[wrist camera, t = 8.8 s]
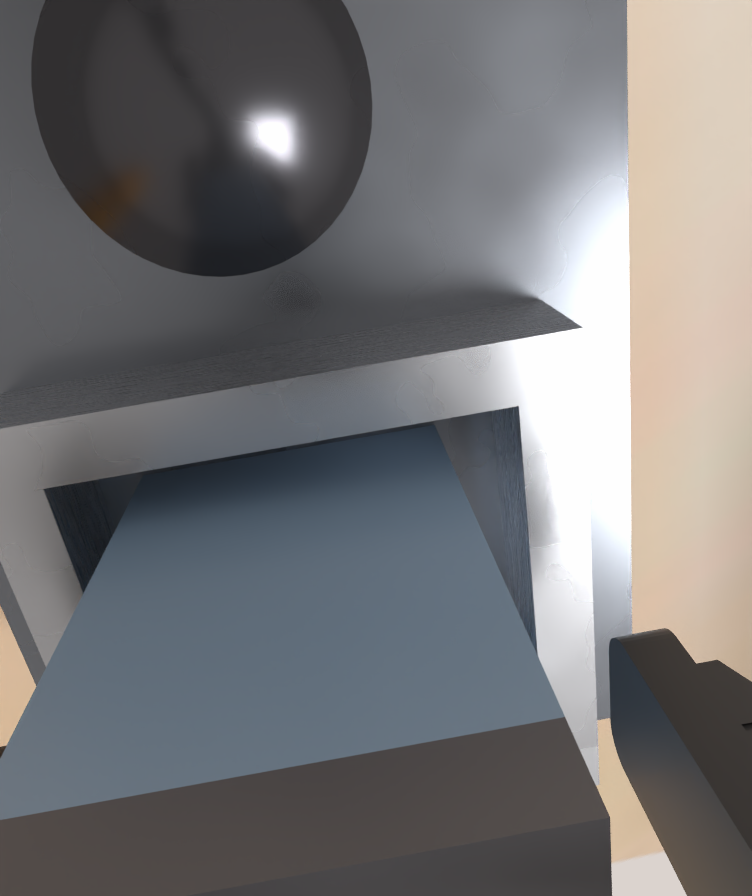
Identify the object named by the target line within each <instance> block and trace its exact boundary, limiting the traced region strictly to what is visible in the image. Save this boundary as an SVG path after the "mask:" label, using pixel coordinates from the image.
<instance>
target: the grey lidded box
mask: <svg viewBox="0 0 752 896" xmlns="http://www.w3.org/2000/svg"><path fill="white" fill-rule="evenodd" d="M0 896H612V880H611V840H610V816H609V814H608V812H607V810H606V807H605V805H604V803H603V801H602V798H601V796H600V794H599V792H598V789H597V787H596V785H595V783H594V781H593V778H592V776H591V774H590V772H589V769H588V767H587V765H586V763H585V760H584V758H583V756H582V754H581V751H580V749H579V747H578V745H577V743H576V740H575V738H574V736H573V734H572V731H571V729H570V727H569V725H568V722H567V720H566V718H565V716H564V713H563V711H562V709H561V707H560V705H559V702H558V700H557V698H556V696H555V693H554V691H553V689H552V687H551V684H550V682H549V680H548V678H547V675H546V673H545V671H544V669H543V666H542V664H541V662H540V660H539V658H538V655H537V653H536V651H535V649H534V646H533V644H532V642H531V640H530V637H529V635H528V633H527V631H526V628H525V626H524V624H523V622H522V620H521V617H520V615H519V613H518V611H517V608H516V606H515V604H514V602H513V599H512V597H511V595H510V593H509V590H508V588H507V586H506V584H505V582H504V579H503V577H502V575H501V573H500V570H499V568H498V566H497V564H496V561H495V559H494V557H493V555H492V552H491V550H490V548H489V546H488V543H487V541H486V539H485V537H484V535H483V532H482V530H481V528H480V526H479V523H478V521H477V519H476V517H475V514H474V512H473V510H472V508H471V505H470V503H469V501H468V499H467V497H466V494H465V492H464V490H463V488H462V485H461V483H460V481H459V479H458V476H457V474H456V472H455V470H454V467H453V465H452V463H451V461H450V459H449V456H448V454H447V452H446V450H445V447H444V445H443V443H442V441H441V438H440V436H439V434H438V432H437V429H436V427H435V425H431V426H425V427H419V428H413V429H408V430H402V431H396V432H390V433H385V434H379V435H373V436H367V437H362V438H356V439H350V440H344V441H339V442H333V443H327V444H321V445H316V446H310V447H304V448H298V449H293V450H287V451H281V452H275V453H270V454H264V455H258V456H252V457H247V458H241V459H235V460H229V461H224V462H218V463H212V464H206V465H201V466H195V467H189V468H183V469H178V470H172V471H166V472H160V473H154V474H149V475H143V476H142V478H141V480H140V482H139V484H138V486H137V488H136V490H135V492H134V494H133V496H132V498H131V500H130V502H129V504H128V506H127V508H126V510H125V512H124V514H123V516H122V518H121V520H120V522H119V524H118V526H117V528H116V530H115V532H114V534H113V536H112V538H111V540H110V542H109V544H108V546H107V548H106V550H105V552H104V554H103V556H102V558H101V560H100V562H99V564H98V566H97V568H96V570H95V572H94V574H93V576H92V577H91V579H90V581H89V583H88V585H87V587H86V589H85V591H84V593H83V595H82V597H81V599H80V601H79V603H78V605H77V607H76V609H75V611H74V613H73V615H72V617H71V619H70V621H69V623H68V625H67V627H66V629H65V631H64V633H63V635H62V637H61V639H60V641H59V643H58V645H57V647H56V649H55V651H54V653H53V655H52V657H51V659H50V661H49V663H48V665H47V667H46V669H45V671H44V673H43V675H42V677H41V679H40V681H39V683H38V685H37V687H36V689H35V691H34V693H33V695H32V697H31V699H30V701H29V703H28V705H27V706H26V708H25V710H24V712H23V714H22V716H21V718H20V720H19V722H18V724H17V726H16V728H15V730H14V732H13V734H12V736H11V738H10V740H9V742H8V744H7V746H6V748H5V750H4V752H3V754H2V756H1V758H0Z"/></svg>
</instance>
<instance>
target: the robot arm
mask: <svg viewBox="0 0 752 896" xmlns="http://www.w3.org/2000/svg"><path fill="white" fill-rule="evenodd" d="M609 681H610V719H611V729H612V735H613V739H614V743H615V747H616V750H617V753H618V756H619V759H620V762H621V764H622V767H623V769H624V771H625V773H626V775H627V777H628V779H629V781H630V783H631V785H632V787H633V789H634V791H635V793H636V795H637V797H638V799H639V801H640V803H641V805H642V807H643V809H644V811H645V813H646V815H647V817H648V819H649V821H650V823H651V825H652V827H653V829H654V831H655V833H656V835H657V837H658V839H659V841H660V843H661V845H662V847H663V848H664V850H665V852H666V854H667V856H668V858H669V860H670V862H671V864H672V866H673V868H674V870H675V872H676V874H677V876H678V878H679V880H680V882H681V884H682V886H683V888H684V890H685V892H686V894H687V896H752V682H751V681H749V680H748V679H746V678H745V677H743V676H742V675H740V674H739V673H737V672H735V671H734V670H732V669H731V668H729V667H728V666H726V665H725V664H723V663H722V662H720V661H718V660H714V661H709V662H703V663H698V664H696V663H695V662H694V660H693V659H692V658H691V656H690V655H689V654H688V652H687V651H686V650H685V648H684V647H683V646H682V644H681V643H680V641H679V640H678V639H677V637H676V636H675V635H674V634H673V633H672V632H671V631H670V630H668V629H665V628H664V629H658V630H653V631H647V632H642V633H636V634H631V635H625V636H620V637H614V638H612V639H611V640H610V643H609ZM5 748H6V746H2V747H0V758H1V756H2V754H3V752H4V750H5Z"/></svg>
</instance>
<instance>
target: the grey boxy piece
mask: <svg viewBox="0 0 752 896" xmlns="http://www.w3.org/2000/svg"><path fill="white" fill-rule="evenodd" d="M431 425H435V427H436V429H437V432H438V434H439V436H440V438H441V441H442V443H443V445H444V447H445V450H446V452H447V454H448V456H449V459H450V461H451V463H452V465H453V467H454V470H455V472H456V474H457V476H458V479H459V481H460V483H461V485H462V488H463V490H464V492H465V494H466V497H467V499H468V501H469V503H470V505H471V508H472V510H473V512H474V514H475V517H476V519H477V521H478V523H479V526H480V528H481V530H482V532H483V535H484V537H485V539H486V541H487V543H488V546H489V548H490V550H491V552H492V555H493V557H494V559H495V561H496V564H497V566H498V568H499V570H500V573H501V575H502V577H503V579H504V582H505V584H506V586H507V588H508V590H509V593H510V595H511V597H512V599H513V602H514V604H515V606H516V608H517V611H518V613H519V615H520V617H521V620H522V622H523V624H524V626H525V628H526V631H527V633H528V635H529V637H530V640H531V642H532V644H533V646H534V649H535V651H536V653H537V655H538V658H539V660H540V662H541V664H542V666H543V669H544V671H545V673H546V675H547V678H548V680H549V682H550V684H551V687H552V689H553V691H554V693H555V696H556V698H557V700H558V702H559V705H560V707H561V709H562V711H563V713H564V716H565V718H566V720H567V722H568V725H569V727H570V729H571V731H572V734H573V736H574V738H575V740H576V743H577V745H578V747H579V749H580V751H581V754H582V756H583V758H584V760H585V763H586V765H587V767H588V769H589V772H590V774H591V776H592V778H593V781H594V783H595V785H599V757H598V728H597V720H601V719H606V718H610V681H609V643H610V640H611V639H612V638H614V637H620V636H625V635H631V634H632V573H631V452H630V331H629V210H628V89H627V0H0V605H1V607H2V609H3V612H4V614H5V616H6V618H7V621H8V623H9V625H10V627H11V630H12V632H13V634H14V636H15V639H16V641H17V643H18V646H19V648H20V650H21V652H22V655H23V657H24V659H25V661H26V664H27V666H28V668H29V670H30V673H31V675H32V677H33V679H34V682H35V684H36V686H37V685H38V683H39V681H40V679H41V677H42V675H43V673H44V671H45V669H46V667H47V665H48V663H49V661H50V659H51V657H52V655H53V653H54V651H55V649H56V647H57V645H58V643H59V641H60V639H61V637H62V635H63V633H64V631H65V629H66V627H67V625H68V623H69V621H70V619H71V617H72V615H73V613H74V611H75V609H76V607H77V605H78V603H79V601H80V599H81V597H82V595H83V593H84V591H85V589H86V587H87V585H88V583H89V581H90V579H91V577H92V576H93V574H94V572H95V570H96V568H97V566H98V564H99V562H100V560H101V558H102V556H103V554H104V552H105V550H106V548H107V546H108V544H109V542H110V540H111V538H112V536H113V534H114V532H115V530H116V528H117V526H118V524H119V522H120V520H121V518H122V516H123V514H124V512H125V510H126V508H127V506H128V504H129V502H130V500H131V498H132V496H133V494H134V492H135V490H136V488H137V486H138V484H139V482H140V480H141V478H142V476H143V475H149V474H154V473H160V472H166V471H172V470H178V469H183V468H189V467H195V466H201V465H206V464H212V463H218V462H224V461H229V460H235V459H241V458H247V457H252V456H258V455H264V454H270V453H275V452H281V451H287V450H293V449H298V448H304V447H310V446H316V445H321V444H327V443H333V442H339V441H344V440H350V439H356V438H362V437H367V436H373V435H379V434H385V433H390V432H396V431H402V430H408V429H413V428H419V427H425V426H431Z"/></svg>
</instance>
